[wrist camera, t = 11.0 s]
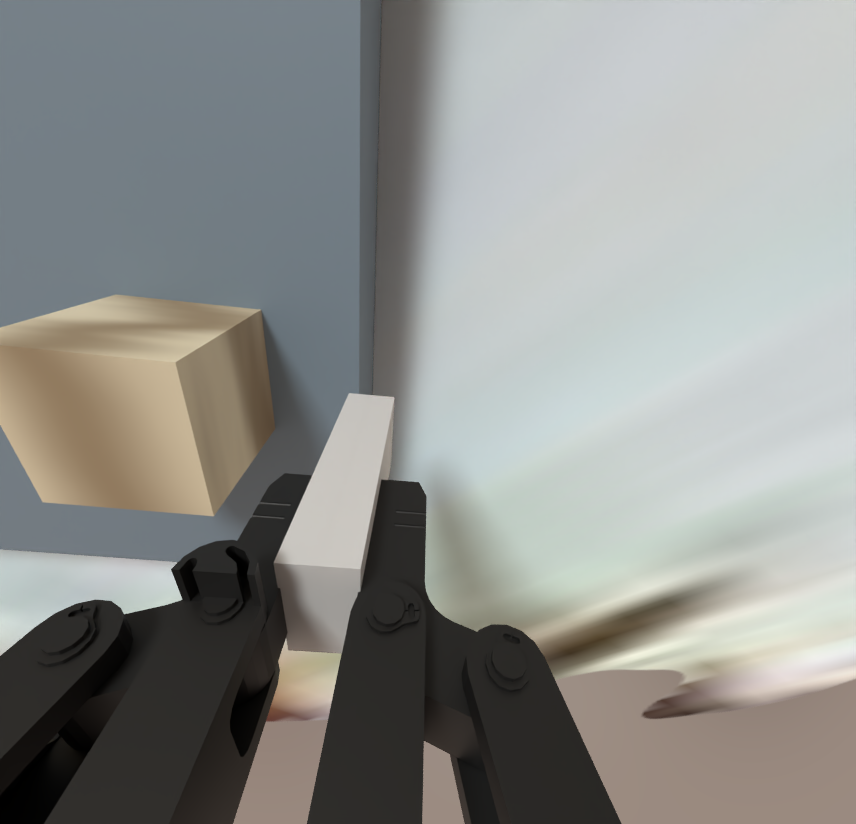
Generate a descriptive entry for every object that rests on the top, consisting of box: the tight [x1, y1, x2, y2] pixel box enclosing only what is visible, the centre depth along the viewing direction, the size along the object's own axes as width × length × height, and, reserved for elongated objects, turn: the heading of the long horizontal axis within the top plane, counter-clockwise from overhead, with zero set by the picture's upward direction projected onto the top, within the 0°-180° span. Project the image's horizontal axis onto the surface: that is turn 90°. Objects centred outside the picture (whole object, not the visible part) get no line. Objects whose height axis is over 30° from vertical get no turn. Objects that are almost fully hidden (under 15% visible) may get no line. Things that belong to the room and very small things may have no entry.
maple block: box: [0, 295, 275, 516], centre depth 12 cm, size 5×5×5 cm
